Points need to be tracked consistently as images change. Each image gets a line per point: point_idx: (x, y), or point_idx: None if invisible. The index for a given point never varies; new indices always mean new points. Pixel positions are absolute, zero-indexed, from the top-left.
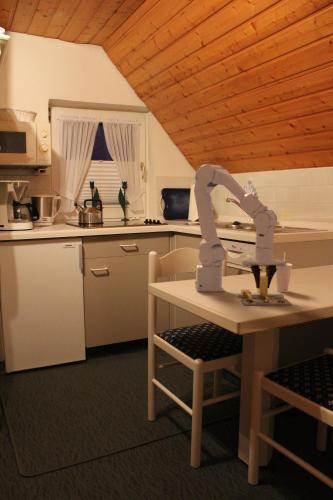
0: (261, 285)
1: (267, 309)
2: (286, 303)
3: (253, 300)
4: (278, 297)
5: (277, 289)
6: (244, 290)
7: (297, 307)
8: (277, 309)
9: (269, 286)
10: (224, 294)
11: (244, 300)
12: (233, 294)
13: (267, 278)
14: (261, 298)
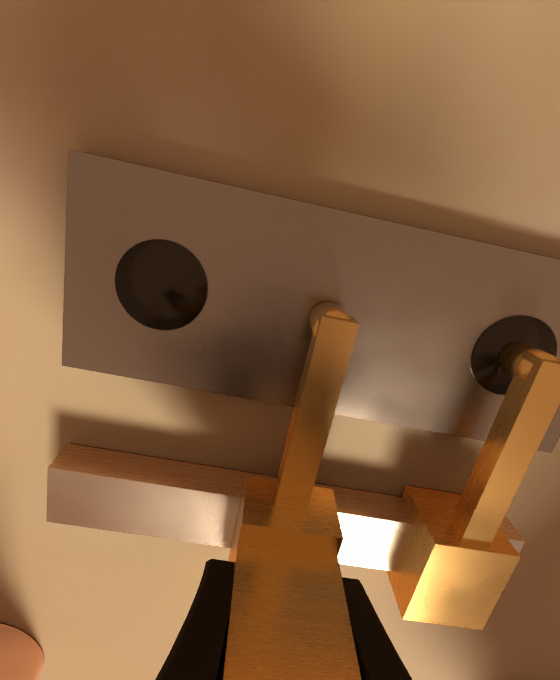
0: (323, 607)
1: (458, 61)
2: (135, 186)
3: (456, 383)
4: (121, 459)
5: (33, 670)
6: (470, 597)
7: (33, 66)
8: (335, 29)
9: (201, 581)
10: (541, 630)
11: None
12: None
13: None
14: None
